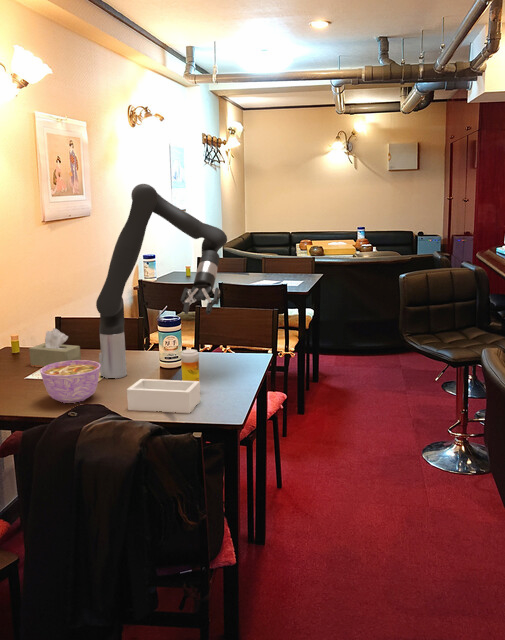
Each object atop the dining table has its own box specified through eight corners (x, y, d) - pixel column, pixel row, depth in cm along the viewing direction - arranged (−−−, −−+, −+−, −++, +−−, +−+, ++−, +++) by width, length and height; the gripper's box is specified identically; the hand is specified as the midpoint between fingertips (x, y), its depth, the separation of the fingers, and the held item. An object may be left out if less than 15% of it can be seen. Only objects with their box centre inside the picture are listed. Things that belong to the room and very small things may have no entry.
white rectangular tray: (128, 410, 208) (126, 389, 207) (141, 398, 219) (140, 378, 218) (189, 413, 204) (188, 392, 202) (200, 401, 215) (199, 381, 214)
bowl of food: (100, 388, 232) (97, 357, 230) (106, 405, 213) (103, 371, 211) (42, 395, 226) (39, 363, 223) (43, 412, 207) (40, 378, 205)
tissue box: (82, 364, 266) (79, 327, 263) (67, 370, 257) (64, 332, 254) (45, 361, 273) (42, 325, 270) (29, 367, 264) (26, 329, 261)
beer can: (197, 395, 221) (195, 353, 219) (180, 394, 223) (178, 353, 220) (202, 390, 227) (200, 349, 224) (185, 389, 229) (183, 348, 226)
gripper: (184, 270, 238) (174, 307, 230) (220, 270, 233) (211, 307, 225) (191, 282, 244) (182, 318, 236) (226, 281, 239) (218, 318, 231)
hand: (196, 313), depth 231 cm, fingers open, 8 cm apart
